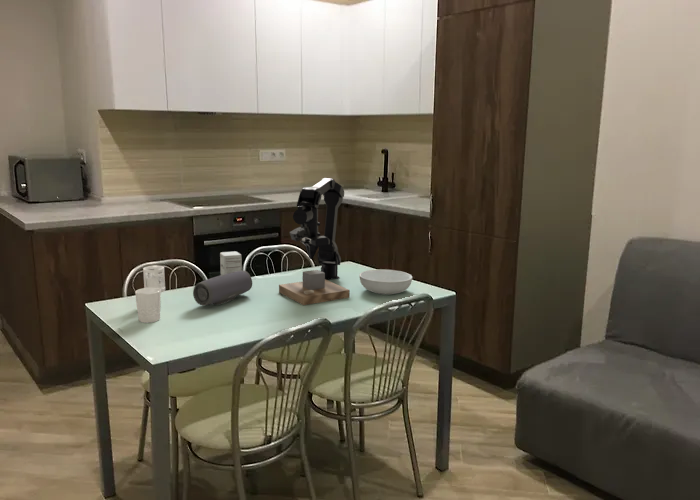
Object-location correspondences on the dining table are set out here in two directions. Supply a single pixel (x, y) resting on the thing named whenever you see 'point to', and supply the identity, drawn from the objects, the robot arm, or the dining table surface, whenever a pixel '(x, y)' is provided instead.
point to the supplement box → (230, 262)
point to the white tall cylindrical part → (154, 277)
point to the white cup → (148, 304)
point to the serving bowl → (385, 281)
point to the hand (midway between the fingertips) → (311, 258)
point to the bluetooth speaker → (222, 288)
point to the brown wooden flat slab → (313, 292)
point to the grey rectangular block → (313, 279)
